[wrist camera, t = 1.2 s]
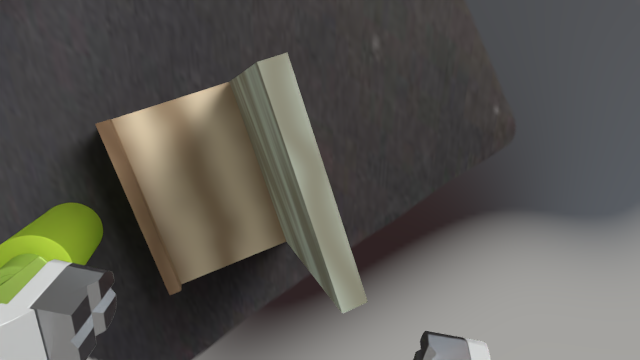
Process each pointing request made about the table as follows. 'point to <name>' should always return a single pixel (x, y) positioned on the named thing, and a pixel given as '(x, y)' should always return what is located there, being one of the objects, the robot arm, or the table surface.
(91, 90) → the table surface
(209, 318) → the table surface
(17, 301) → the robot arm
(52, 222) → the soap dispenser
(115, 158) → the wall board
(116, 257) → the table surface
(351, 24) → the table surface
